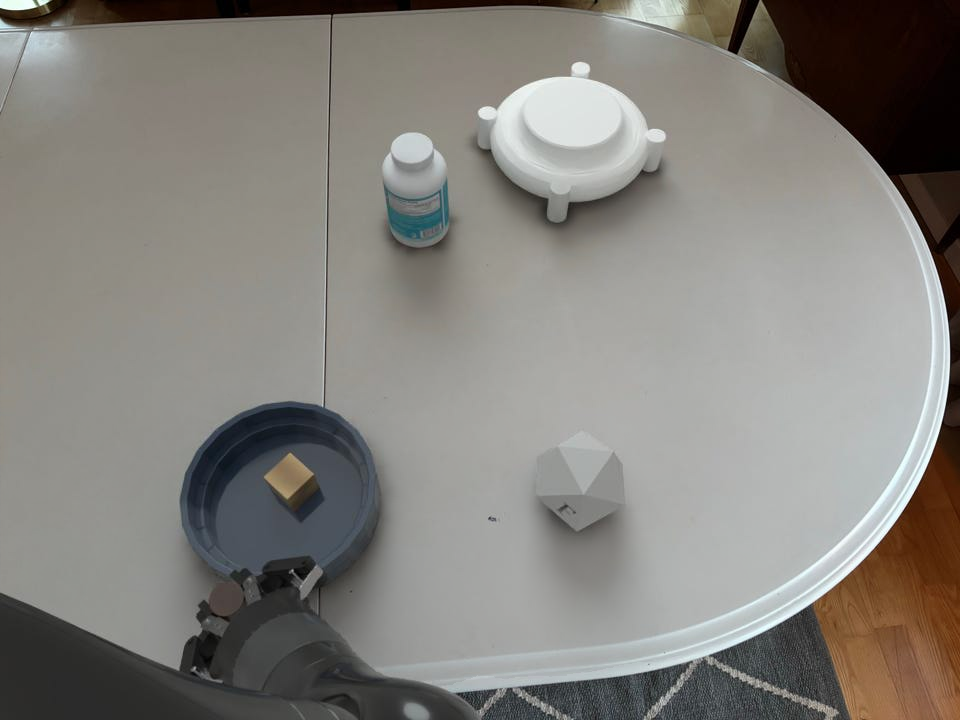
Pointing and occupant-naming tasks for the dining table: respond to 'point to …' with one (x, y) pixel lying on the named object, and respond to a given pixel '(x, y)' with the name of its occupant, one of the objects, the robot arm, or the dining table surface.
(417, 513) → the dining table surface
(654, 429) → the dining table surface
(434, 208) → the pill bottle
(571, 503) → the die
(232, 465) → the bowl
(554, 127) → the round stand with pegs
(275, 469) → the block
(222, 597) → the brown cylinder
